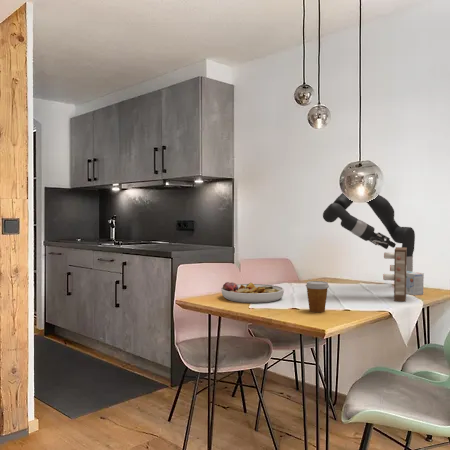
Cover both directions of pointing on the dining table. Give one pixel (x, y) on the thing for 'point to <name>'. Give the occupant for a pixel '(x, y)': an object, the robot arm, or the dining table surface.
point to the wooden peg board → (400, 274)
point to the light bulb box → (414, 283)
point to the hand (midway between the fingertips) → (391, 246)
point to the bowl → (251, 292)
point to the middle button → (393, 267)
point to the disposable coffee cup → (317, 295)
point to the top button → (389, 255)
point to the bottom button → (388, 277)
